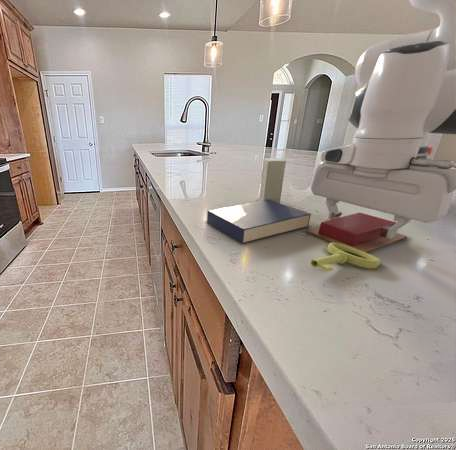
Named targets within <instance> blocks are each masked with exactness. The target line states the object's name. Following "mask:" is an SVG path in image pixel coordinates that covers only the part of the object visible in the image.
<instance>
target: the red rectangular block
mask: <svg viewBox="0 0 456 450" xmlns="http://www.w3.org/2000/svg"><path fill="white" fill-rule="evenodd" d="M395 223H397V222H396V221H394V220H393V221H392V220H389V219H386V218H382V217H378V216H374V215H371V214H368V213H363V212H356V213H352V214H348V215H344V216H340V218H336V219H332V220H330V219H327V220H324V221H321V222H320V223H319V224H320V225H319V227H318V228H319V234H322V235H325V236H327V237H330V238H332V239H335V240H337V241H340V242H342V243H345V244H348V245H350V246H356V245H359V244H363V243H366V242H369V241H372V240H375V239H378V238H381V237H382V236H380V233H381V232H382V231H381V230H382V227H386V226H393V225H394V224H395Z"/></svg>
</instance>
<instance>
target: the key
mask: <svg viewBox="0 0 456 450" xmlns="http://www.w3.org/2000/svg"><path fill="white" fill-rule="evenodd" d="M327 252H328V253H329V254H330V255H327V256H323V257H318V258H314V259H311V260H310V262H309V263H310V266H311V267H312V268H320V269H322V270H324V271H326V272H330V271H333V270H334V266H331V264H335V263H337V264H345V263H350V264H352V265H356V266H358V267H362V268H366V269H377V268H378V267H379V266H380V264H381V259H380V258H378V257H376V256H375V255H373V254H370V253H369V252H363V251H360V250H358V249H355V248H352V247H349V246H346V245H343V244H339V243H332V242H329V243H328V245H327Z"/></svg>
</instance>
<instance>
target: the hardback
mask: <svg viewBox="0 0 456 450" xmlns="http://www.w3.org/2000/svg"><path fill="white" fill-rule="evenodd" d="M206 216H207V217H206V223H207V224H208V225H210V226H212V227H214V228H216V229H217V230H218V231H220V232H222V233H224V234H226V235H227V236H228V237H230V238H232V239H234V240H235V241H237V242H239V243H240V244H246V243H250V242H254V241H257V240H261V239H265V238H269V237H272V236H277V235H280V234H284V233H287V232H291V231H292V232H293V231H296V230H299V229H303V228H307V227H309V223H310V221H311V216H312V213H310V212H307V211H304V210H301V209H298V208H295V207H292V206H289V205H286V204H283V203H281V202H280V203H277V202H274V201H271V200H268V199H267V200H261V201H259V200H257V201H252V202H251V201H250V202H246V203H241V204H235V205H231V206H224V207H220V208H215V209H209V210H207V214H206Z"/></svg>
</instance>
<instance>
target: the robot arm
mask: <svg viewBox="0 0 456 450" xmlns="http://www.w3.org/2000/svg"><path fill="white" fill-rule="evenodd" d="M408 1H409V4H410V5H411V6H412V7H413V8H415V9H416V10H420V11H423V12H429V13H432V14H433V13H434V14H436V15H438V17H439V25H438V26H437V27H435V28H433V29H432V28H431V29H428V30H422V31H417V32H413V33H408V34H403V35H398V36H394V37H391V38H389V39H385V40H382V41H380V42H377V43H375V44H373V45H371V46H369V47H368V48H367V49H366V50H365V51H364V52H363V53H362V55H361V56H360V57H359V58H358V61H357V63H356V65H355V70H354V76H355V77H354V78H355V81H356V83H357V85H358V86H359V87H360V88H359V89H358V90H356V91H355V92H354V94H355V97H354V102H353V107H352V110H351V113H350V117H349V118H348V122H349V123H350V124H351V125H352V126H353V127H354V128H355V129H356V131H355V132H354V134H353V137H352V141H351V143H350V144H344V145H341V146H338V147H333V148H329V149H325V150H322V151H321V153H320V161H321V162H320V163H318V165H317V167H316V168H315V171H314V174H313V178H312V180H311V186H310V190H311V192H312V194H313V195H315V196H319V197H322V198H326V200H325V205H326V207H327V210H328V212H329V213H328V216H327V220H332V219H336V218H340V217H342V214H343V212H342V211H339V209H338V205H337V204H338V203H340V202H341V203H346V204H350V205H353V206H358V207H362V208H366V209H369V210H374V211H377V212H380V213H381V212H382V213H386V214H389V215H394V217H393V222H396V223H395V224H394V225H393V226H386V227H382V230H381V231H382V232H381V233H380V236H382V237H385V238H388V239H392V238H394V237H395V235H396V233H398V230H399V229H401V228H402V227H404V226H406V225H408V223H410V222H411V220H413V221H418V222H421V223H426V224H429V223H433V222H436V221H438V220H441V219H443V218H445V217H446V216H447V214H448V212H449V209H450V206H451V203H452V199H453V196H454V191H455V190H456V164H455V161H453V160H452V161H451V160H446V159H445V160H444V159H441V160H439V159H438V160H437V159H431V158H428V156H431V154H433V150H434V147H433V146H428V144H429V141H430V139H431V136H432V134H438V135H439V134H440V135H441V134H442V135H456V0H408Z"/></svg>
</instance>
